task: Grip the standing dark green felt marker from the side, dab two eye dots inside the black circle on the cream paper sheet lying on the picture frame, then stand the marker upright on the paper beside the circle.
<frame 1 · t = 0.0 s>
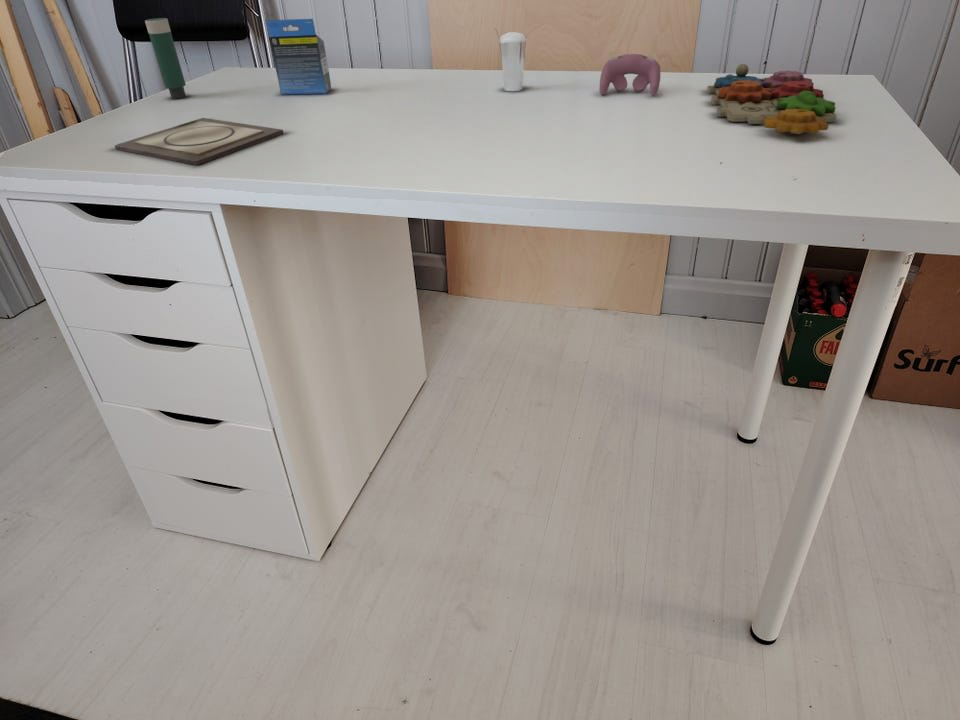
picture frame: (201, 141, 96), on the table
video game controller: (628, 94, 110), on the table
marker: (178, 97, 121), on the table
gear puzzle: (769, 112, 97), on the table
tape cartridge: (306, 93, 120), on the table
milkshake: (511, 90, 115), on the table
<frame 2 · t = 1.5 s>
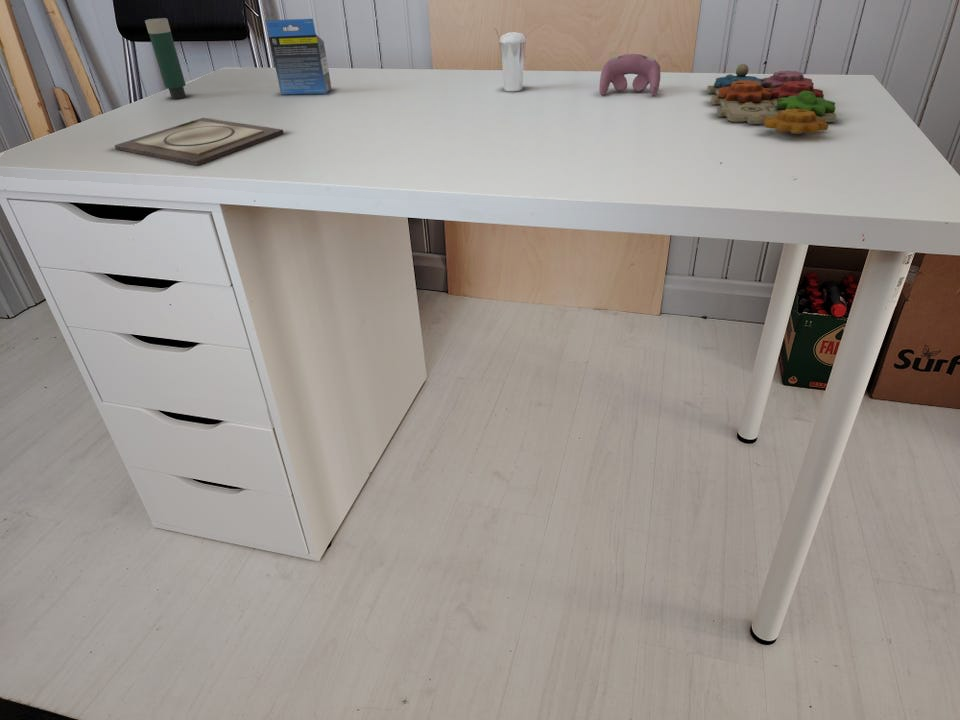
nothing on the table moved.
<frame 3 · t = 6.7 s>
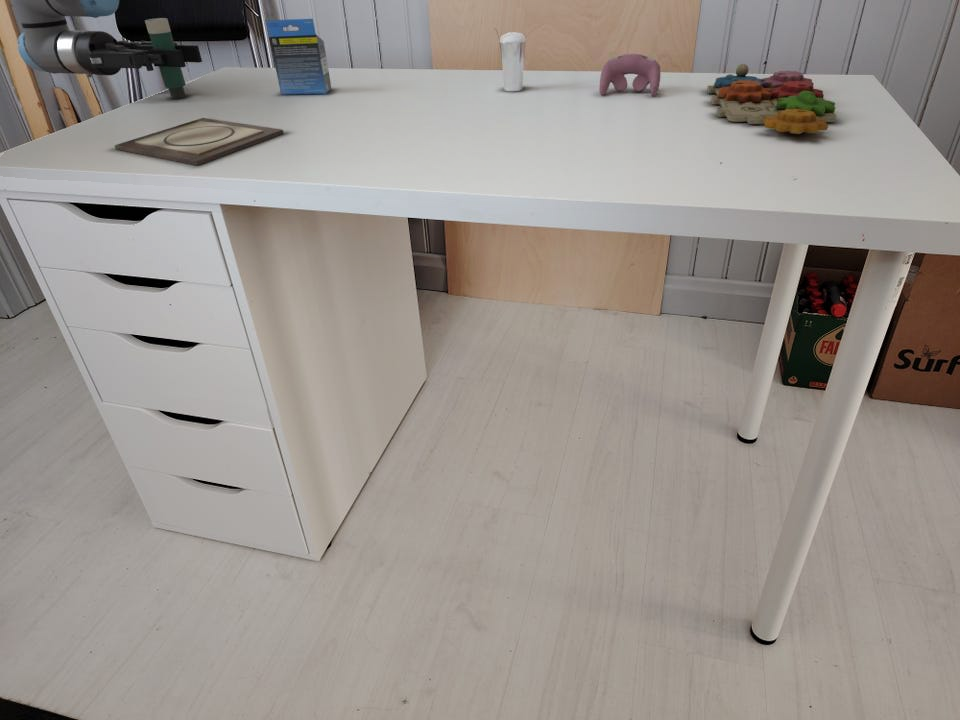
hand: (190, 56, 115), 7 cm above the table, tool horizontal, fingers closed on marker, 4 cm apart
marker: (178, 97, 121), on the table, touching gripper
everything else where it was.
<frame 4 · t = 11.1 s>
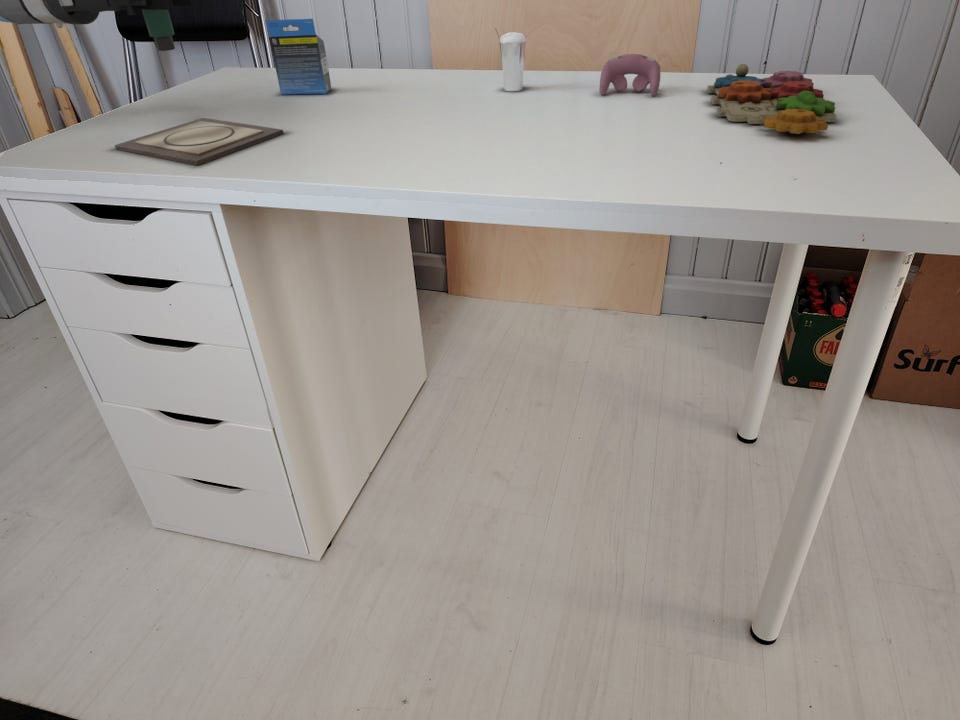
marker: (166, 49, 101), point 11 cm above the table, touching gripper
everything else where it was.
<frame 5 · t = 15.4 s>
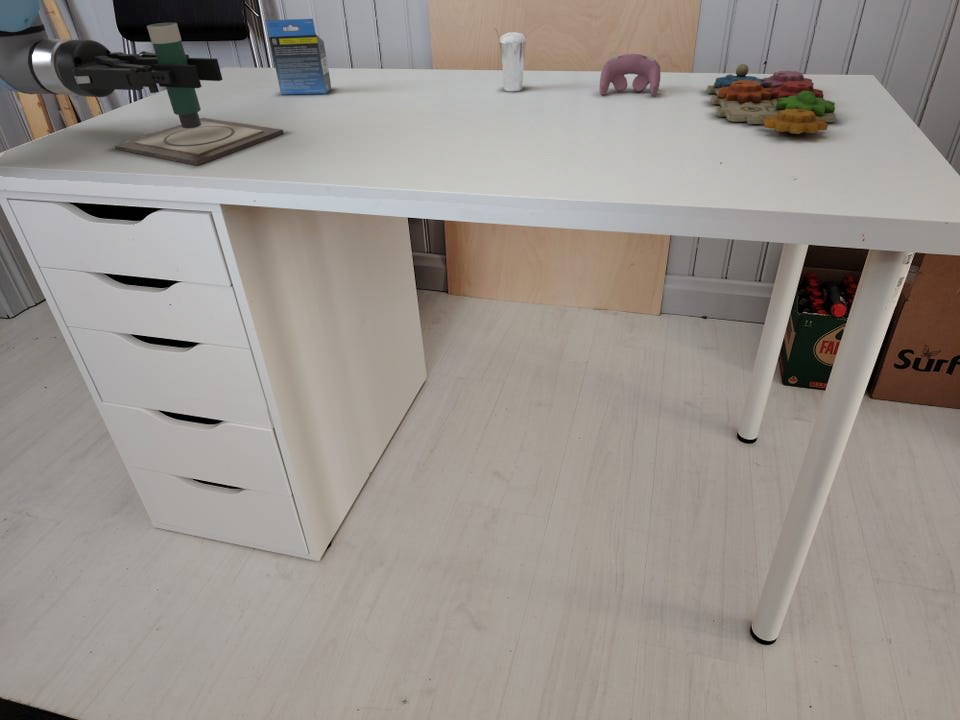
hand: (207, 73, 87), 10 cm above the table, tool horizontal, fingers closed on marker, 4 cm apart
marker: (191, 126, 92), point 3 cm above the table, touching gripper
everything else where it was.
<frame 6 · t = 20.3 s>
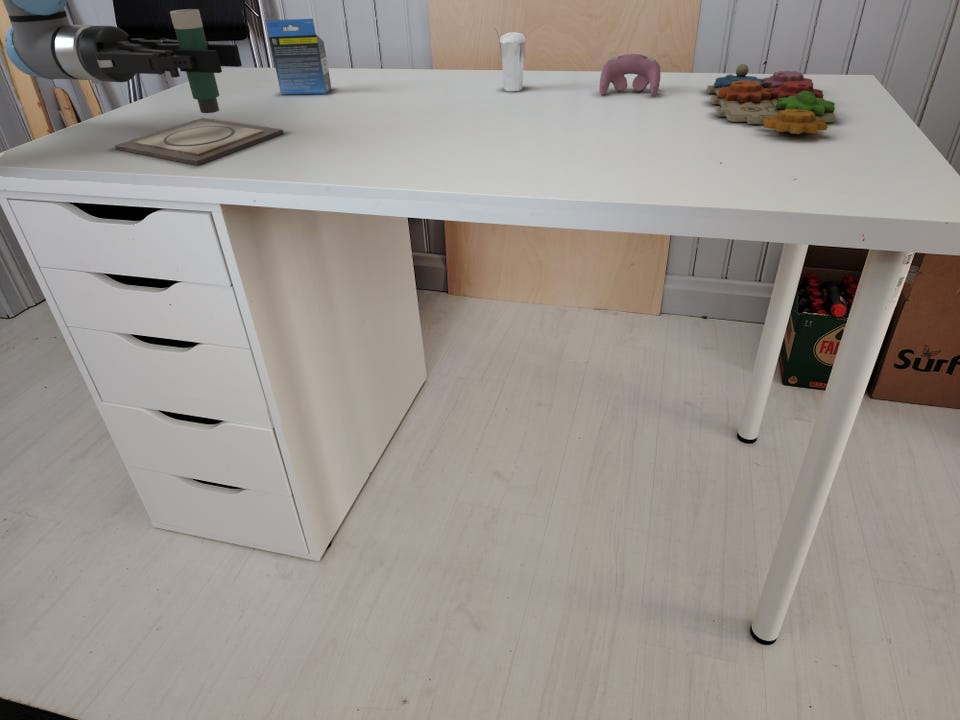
hand: (227, 58, 89), 11 cm above the table, tool horizontal, fingers closed on marker, 3 cm apart
marker: (210, 111, 94), point 4 cm above the table, touching gripper
everything else where it was.
when the fingers open (8 cm above the table, at t = 24.3 s): marker stays where it is, resting on picture frame.
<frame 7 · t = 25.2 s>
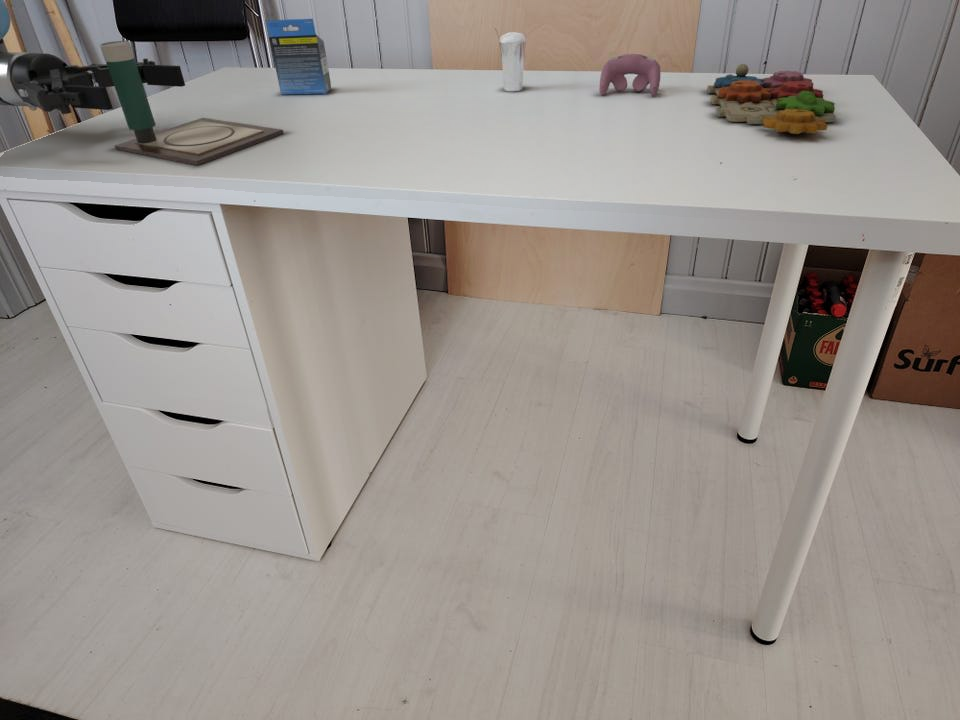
hand: (146, 86, 89), 8 cm above the table, tool horizontal, fingers open, 13 cm apart
marker: (147, 140, 95), point 1 cm above the table, touching picture frame
everything else where it was.
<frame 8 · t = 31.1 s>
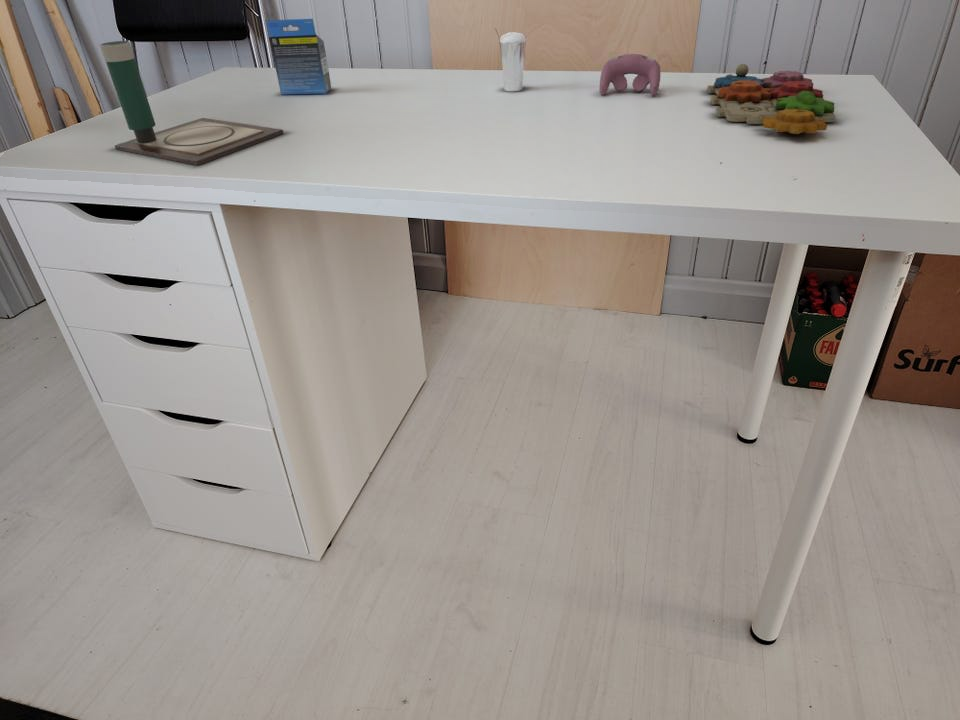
nothing on the table moved.
at the end: marker inside the target area on the picture frame (7.4 cm from its centre), point 0.8 cm above the picture frame's base; marker tilted 0°; the gripper is holding nothing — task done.
